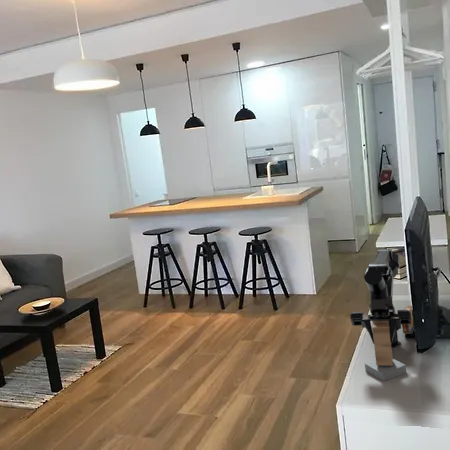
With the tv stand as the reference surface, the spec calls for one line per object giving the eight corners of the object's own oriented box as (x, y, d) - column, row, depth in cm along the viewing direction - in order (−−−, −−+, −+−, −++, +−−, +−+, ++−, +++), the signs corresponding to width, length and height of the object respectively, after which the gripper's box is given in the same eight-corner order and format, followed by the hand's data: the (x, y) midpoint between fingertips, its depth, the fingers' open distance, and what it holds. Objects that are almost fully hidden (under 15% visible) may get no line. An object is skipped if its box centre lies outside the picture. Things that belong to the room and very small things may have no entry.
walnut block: (376, 358, 166) (372, 321, 164) (392, 358, 164) (388, 320, 162) (376, 365, 161) (372, 327, 159) (392, 365, 160) (388, 326, 157)
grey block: (387, 362, 169) (386, 355, 169) (406, 372, 161) (405, 364, 160) (365, 370, 166) (364, 363, 165) (383, 381, 158) (383, 373, 157)
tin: (410, 338, 184) (408, 317, 182) (401, 338, 185) (399, 316, 184) (419, 322, 196) (417, 302, 195) (410, 322, 198) (408, 301, 196)
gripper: (347, 289, 165) (349, 334, 157) (407, 285, 159) (412, 333, 151) (351, 303, 174) (353, 347, 166) (408, 300, 168) (413, 345, 160)
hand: (382, 343), depth 160 cm, fingers closed on walnut block, 5 cm apart
